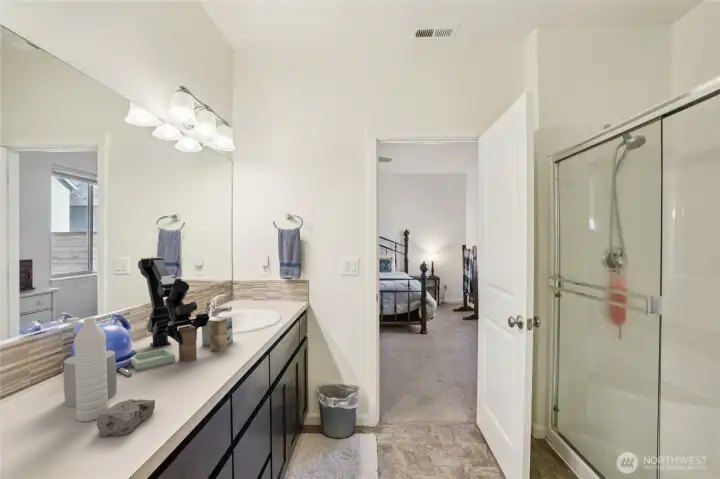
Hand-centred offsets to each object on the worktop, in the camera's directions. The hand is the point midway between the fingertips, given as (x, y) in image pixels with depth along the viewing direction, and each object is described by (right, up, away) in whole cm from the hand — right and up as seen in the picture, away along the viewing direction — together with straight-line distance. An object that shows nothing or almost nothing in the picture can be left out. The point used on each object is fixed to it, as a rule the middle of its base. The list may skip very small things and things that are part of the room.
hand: (188, 342), depth 132 cm
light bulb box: (+2, -7, +21) cm, 23 cm away
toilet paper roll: (-14, -8, -29) cm, 33 cm away
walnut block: (-1, -7, +1) cm, 7 cm away
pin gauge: (-16, -7, -11) cm, 21 cm away
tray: (-13, -7, -1) cm, 15 cm away
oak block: (+6, -6, +13) cm, 15 cm away
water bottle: (-7, -7, -40) cm, 41 cm away
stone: (+6, -7, -44) cm, 45 cm away
